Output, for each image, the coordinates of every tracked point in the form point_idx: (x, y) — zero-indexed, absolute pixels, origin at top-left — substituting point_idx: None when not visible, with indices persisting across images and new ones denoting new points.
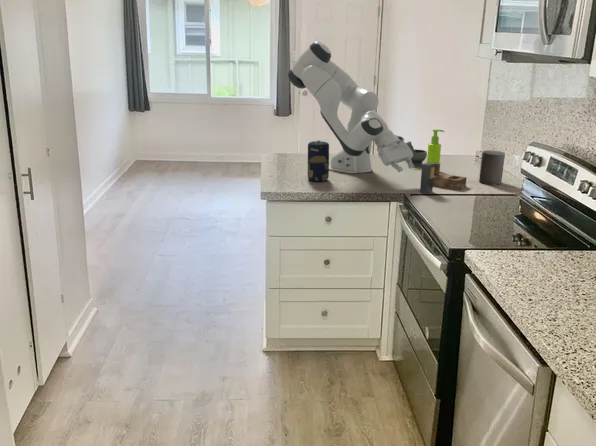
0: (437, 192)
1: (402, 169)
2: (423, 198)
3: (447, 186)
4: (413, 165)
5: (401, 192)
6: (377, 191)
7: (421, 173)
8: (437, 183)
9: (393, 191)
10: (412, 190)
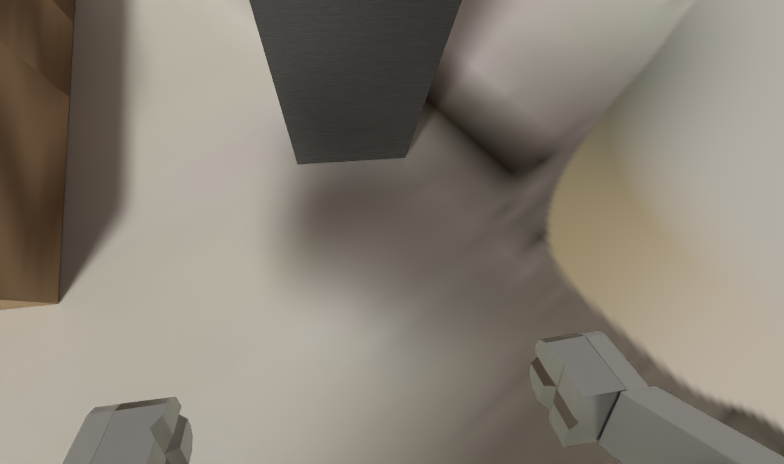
0: None
1: (557, 339)
2: (529, 48)
3: (60, 64)
4: (96, 416)
5: (524, 270)
6: None
7: (446, 41)
8: (44, 163)
9: None
10: (391, 246)
